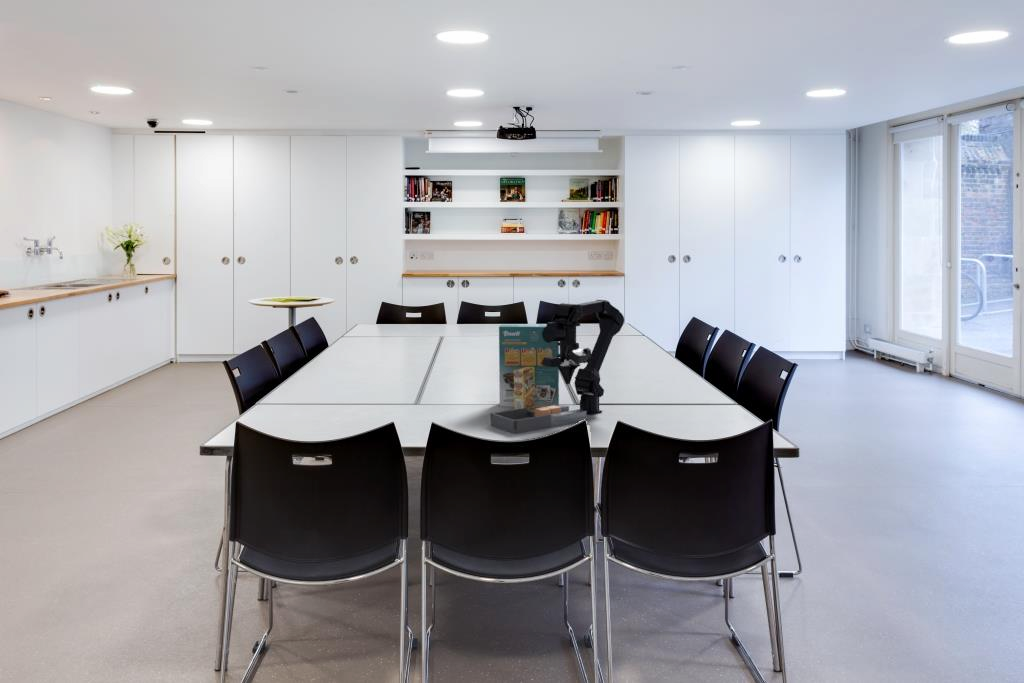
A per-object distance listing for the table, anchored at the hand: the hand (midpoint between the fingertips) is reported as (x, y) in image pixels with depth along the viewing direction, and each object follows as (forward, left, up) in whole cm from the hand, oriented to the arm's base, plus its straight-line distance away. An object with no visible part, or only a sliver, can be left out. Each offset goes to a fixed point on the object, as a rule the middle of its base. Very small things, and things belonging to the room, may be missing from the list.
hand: (567, 384), depth 294 cm
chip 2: (+6, 0, -11) cm, 13 cm away
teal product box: (-2, -25, -12) cm, 28 cm away
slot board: (+5, 0, -12) cm, 13 cm away
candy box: (+4, -20, -12) cm, 24 cm away
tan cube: (+11, 0, -11) cm, 15 cm away
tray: (+20, 0, -12) cm, 24 cm away
